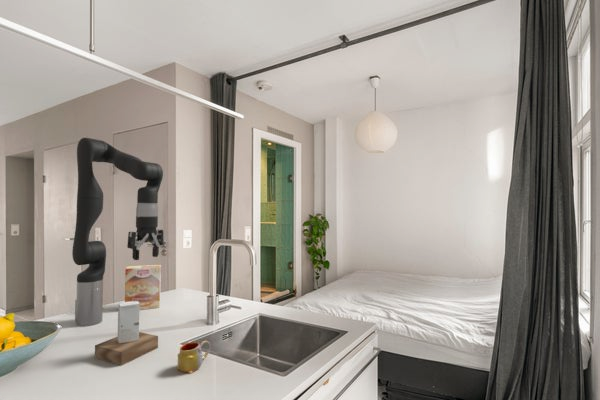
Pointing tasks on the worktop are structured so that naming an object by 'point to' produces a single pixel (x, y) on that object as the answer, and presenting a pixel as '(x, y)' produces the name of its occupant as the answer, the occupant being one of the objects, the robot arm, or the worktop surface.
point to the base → (125, 349)
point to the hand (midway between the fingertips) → (145, 258)
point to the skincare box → (128, 321)
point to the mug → (191, 356)
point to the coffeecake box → (143, 285)
